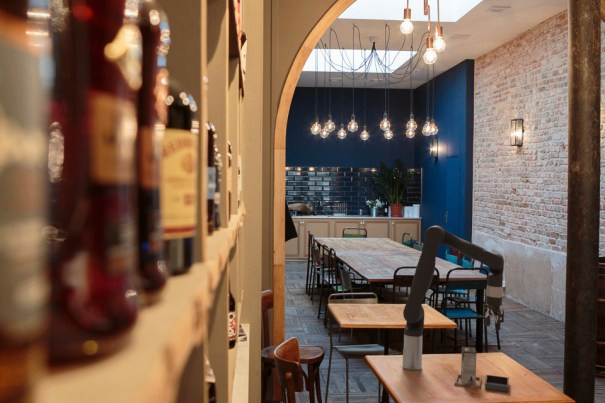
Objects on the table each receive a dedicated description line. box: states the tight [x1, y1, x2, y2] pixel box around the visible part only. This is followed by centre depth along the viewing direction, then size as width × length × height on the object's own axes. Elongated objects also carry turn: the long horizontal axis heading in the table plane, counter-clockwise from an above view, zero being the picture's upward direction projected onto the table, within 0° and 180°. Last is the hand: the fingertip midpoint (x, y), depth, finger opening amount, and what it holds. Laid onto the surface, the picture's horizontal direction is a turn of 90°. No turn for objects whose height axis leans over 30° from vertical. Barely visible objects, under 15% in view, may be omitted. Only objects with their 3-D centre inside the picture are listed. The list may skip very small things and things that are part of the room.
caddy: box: [484, 374, 510, 394], centre depth 262 cm, size 10×13×3 cm
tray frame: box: [454, 373, 483, 390], centre depth 267 cm, size 12×14×1 cm
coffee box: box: [460, 346, 477, 385], centre depth 267 cm, size 9×6×16 cm
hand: (492, 328), depth 271 cm, fingers open, 8 cm apart
